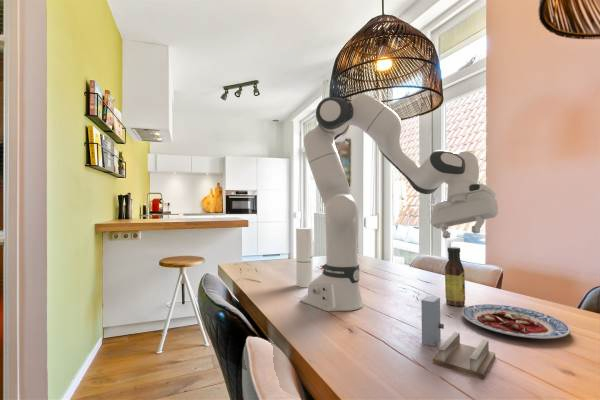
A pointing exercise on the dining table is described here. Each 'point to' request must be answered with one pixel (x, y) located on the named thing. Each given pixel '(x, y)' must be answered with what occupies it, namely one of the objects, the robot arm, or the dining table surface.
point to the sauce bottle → (454, 278)
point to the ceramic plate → (516, 321)
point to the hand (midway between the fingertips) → (460, 235)
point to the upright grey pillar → (431, 320)
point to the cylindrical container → (304, 256)
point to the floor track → (465, 356)
